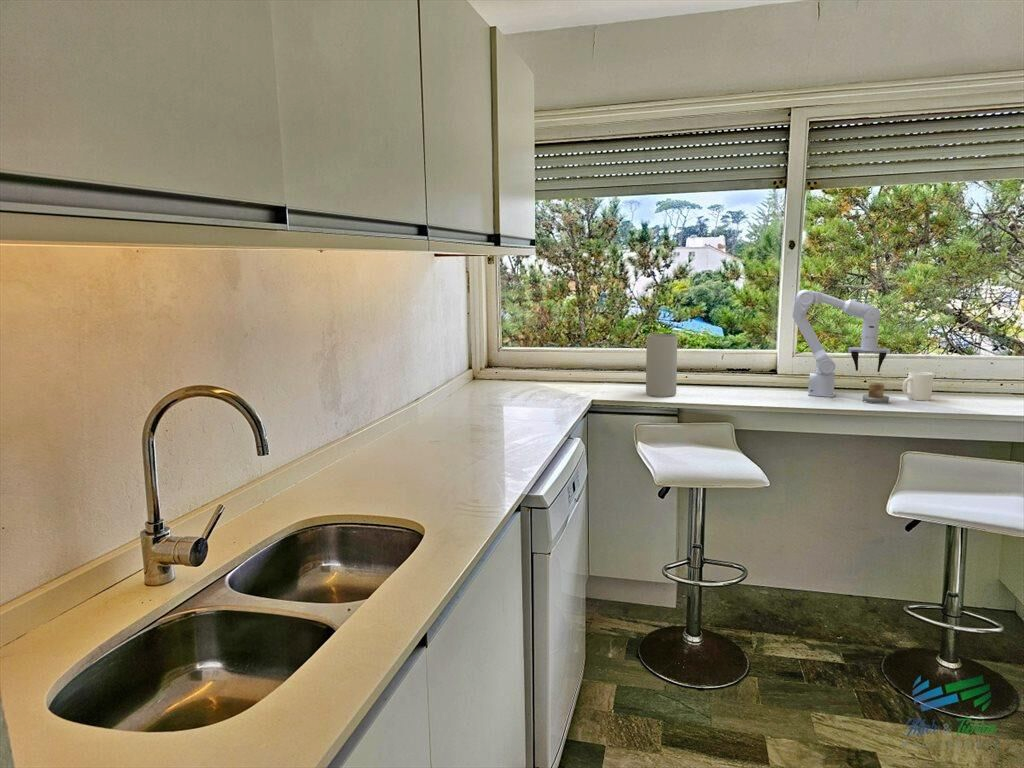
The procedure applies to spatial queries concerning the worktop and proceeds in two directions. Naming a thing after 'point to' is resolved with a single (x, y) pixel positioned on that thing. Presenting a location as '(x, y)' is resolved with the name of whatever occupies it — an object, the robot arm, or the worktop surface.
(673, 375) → the cylinder vase
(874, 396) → the walnut cube
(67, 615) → the worktop surface
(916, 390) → the mug
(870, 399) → the slate pedestal
